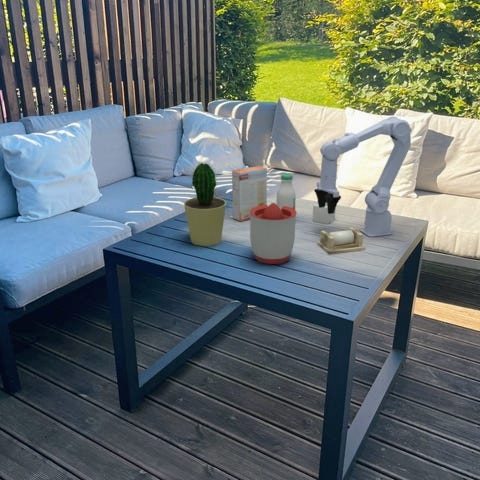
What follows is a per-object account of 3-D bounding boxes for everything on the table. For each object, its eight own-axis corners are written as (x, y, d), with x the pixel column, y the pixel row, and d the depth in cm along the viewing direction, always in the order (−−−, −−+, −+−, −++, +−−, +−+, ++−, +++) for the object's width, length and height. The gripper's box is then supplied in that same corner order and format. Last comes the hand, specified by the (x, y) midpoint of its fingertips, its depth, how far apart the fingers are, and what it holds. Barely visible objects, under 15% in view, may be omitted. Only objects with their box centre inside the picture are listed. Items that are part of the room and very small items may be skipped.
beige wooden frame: (317, 244, 187) (317, 230, 185) (351, 239, 191) (352, 226, 189) (329, 254, 178) (330, 239, 176) (364, 249, 182) (366, 235, 180)
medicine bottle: (335, 219, 212) (337, 191, 208) (328, 224, 206) (330, 196, 202) (319, 216, 216) (320, 189, 211) (312, 221, 210) (313, 193, 206)
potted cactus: (235, 240, 191) (235, 161, 179) (205, 251, 180) (203, 168, 169) (207, 230, 200) (205, 154, 189) (177, 240, 190) (173, 161, 179)
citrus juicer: (296, 249, 183) (298, 195, 175) (292, 269, 167) (295, 211, 159) (253, 246, 185) (254, 193, 178) (245, 265, 169) (246, 208, 162)
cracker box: (258, 212, 221) (259, 165, 213) (267, 216, 216) (268, 167, 208) (231, 218, 213) (231, 169, 206) (239, 222, 209) (239, 172, 201)
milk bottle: (289, 226, 204) (291, 178, 197) (272, 223, 208) (273, 175, 201) (297, 221, 210) (299, 173, 203) (281, 217, 214) (282, 171, 207)
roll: (346, 239, 187) (348, 227, 185) (352, 246, 183) (355, 234, 181) (326, 241, 185) (328, 229, 182) (332, 248, 181) (334, 236, 178)
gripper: (310, 171, 192) (308, 205, 197) (327, 181, 179) (325, 217, 184) (327, 170, 194) (324, 203, 199) (345, 179, 181) (342, 215, 186)
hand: (326, 210), depth 192 cm, fingers open, 7 cm apart
